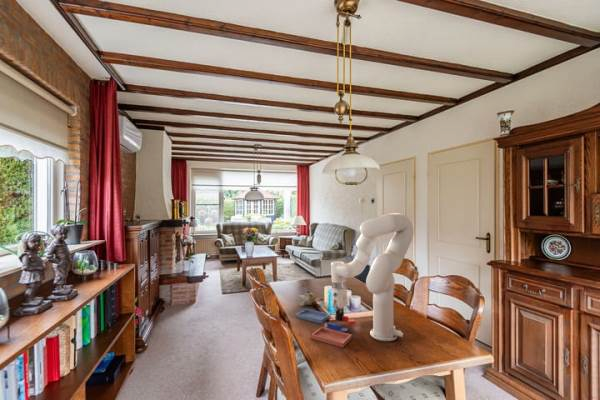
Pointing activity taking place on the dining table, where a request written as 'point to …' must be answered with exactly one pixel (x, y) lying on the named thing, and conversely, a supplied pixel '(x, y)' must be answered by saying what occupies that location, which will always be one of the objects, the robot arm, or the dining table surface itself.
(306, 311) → the blue tray
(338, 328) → the blue spoon
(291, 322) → the dining table surface
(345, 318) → the red spoon
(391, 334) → the robot arm
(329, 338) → the rose tray
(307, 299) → the ceramic sculpture
